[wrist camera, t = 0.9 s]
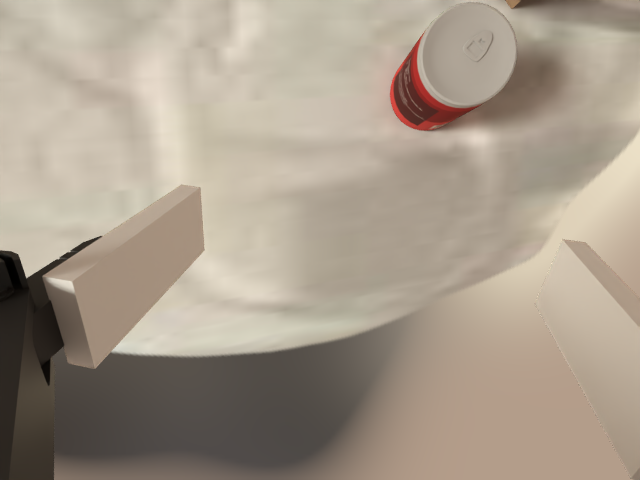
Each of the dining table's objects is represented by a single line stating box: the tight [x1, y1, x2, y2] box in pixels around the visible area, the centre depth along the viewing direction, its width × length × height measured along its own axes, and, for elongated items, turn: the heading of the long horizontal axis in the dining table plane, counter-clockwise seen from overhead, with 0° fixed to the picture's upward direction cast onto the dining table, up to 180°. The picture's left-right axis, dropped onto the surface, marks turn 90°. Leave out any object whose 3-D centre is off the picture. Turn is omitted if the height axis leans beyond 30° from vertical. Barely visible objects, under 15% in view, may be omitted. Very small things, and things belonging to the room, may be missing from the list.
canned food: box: [390, 2, 518, 130], centre depth 35 cm, size 8×8×11 cm
